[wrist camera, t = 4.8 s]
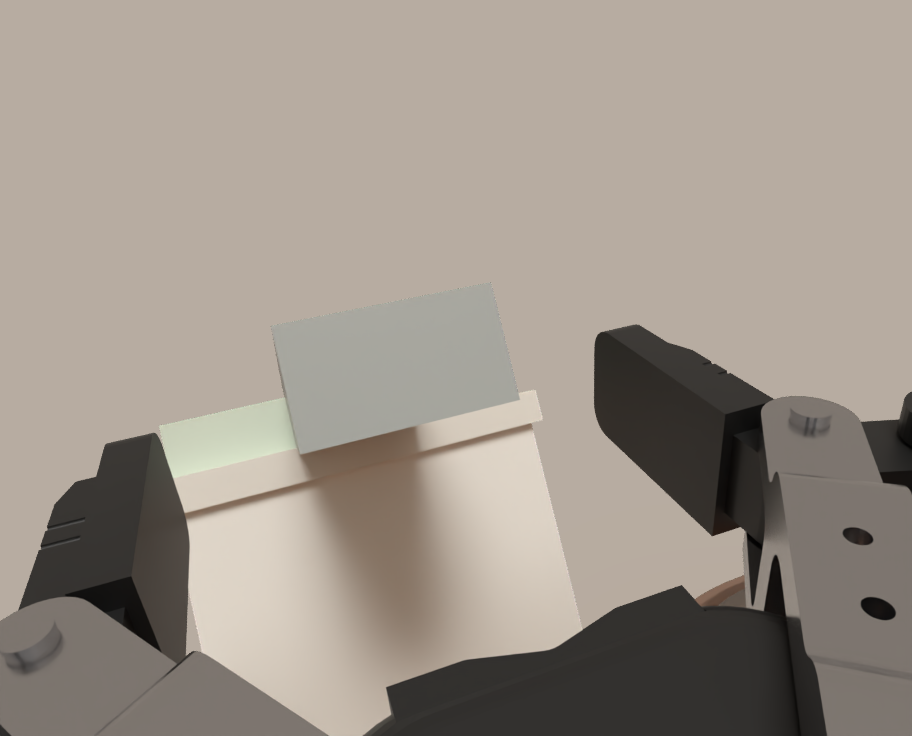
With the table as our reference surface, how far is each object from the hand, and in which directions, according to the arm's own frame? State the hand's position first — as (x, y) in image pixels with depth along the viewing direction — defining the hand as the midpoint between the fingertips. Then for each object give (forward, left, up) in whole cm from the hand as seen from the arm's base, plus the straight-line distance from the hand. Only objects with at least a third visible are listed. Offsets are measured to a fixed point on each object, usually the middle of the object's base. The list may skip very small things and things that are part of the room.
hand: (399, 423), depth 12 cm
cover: (0, +11, 0) cm, 11 cm away
